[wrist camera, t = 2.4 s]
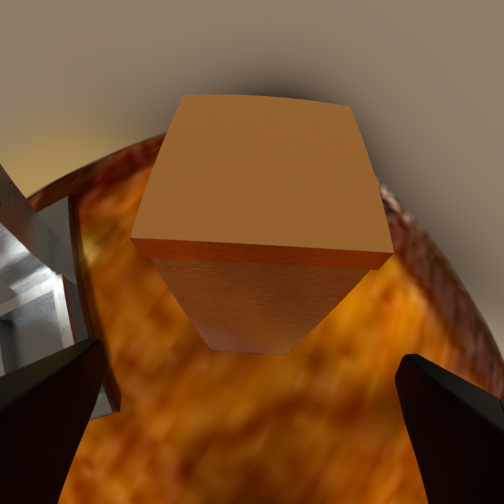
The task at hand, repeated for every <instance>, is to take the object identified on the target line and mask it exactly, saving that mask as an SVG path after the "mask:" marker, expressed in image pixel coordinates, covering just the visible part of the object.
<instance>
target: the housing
mask: <svg viewBox="0 0 504 504" xmlns="http://www.w3.org/2000/svg"><path fill="white" fill-rule="evenodd" d="M87 338H94V339H95V337H94V333H93V329H92V325H91V321H90V317H89V313H88V308H87V304H86V299H85V294H84V289H83V284H82V278H81V273H80V266H79V260H78V253H77V245H76V237H75V227H74V215H73V203H72V202H71V200H70V199H69V197H68V196H67V197H65V198H63V199H61V200H59V201H57V202H55V203H54V204H52V205H50V206H48V207H46V208H44V209H43V210H41V211H39V212H36V210H35V209H34V208H33V207H32V205H31V204H30V203H29V202H28V200H27V199H26V198H25V197H24V195H23V194H22V193H21V192H20V190H19V189H18V188H17V186H16V185H15V184H14V182H13V181H12V180H11V178H10V177H9V176H8V174H7V173H6V171H5V170H4V168H3V167H2V165H1V164H0V376H3V375H5V374H7V373H10V372H12V371H14V370H17V369H19V368H21V367H24V366H26V365H28V364H30V363H33V362H35V361H37V360H40V359H42V358H44V357H46V356H49V355H51V354H53V353H56V352H58V351H60V350H62V349H65V348H67V347H69V346H71V345H74V344H76V343H78V342H80V341H83V340H85V339H87ZM117 412H120V411H119V409H118V406H117V404H116V401H115V398H114V396H113V393H112V390H111V388H110V385H109V382H108V379H107V376H106V374H105V377H104V380H103V383H102V386H101V389H100V392H99V395H98V398H97V402H96V404H95V407H94V410H93V412H92V415H91V417H90V419H89V420H93V419H97V418H100V417H104V416H107V415H110V414H114V413H117Z"/></svg>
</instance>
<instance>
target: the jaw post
mask: <svg viewBox="0 0 504 504" xmlns="http://www.w3.org/2000/svg"><path fill="white" fill-rule="evenodd" d="M130 238H131V240H132V241H133V243H134V245H135V246H136V248H137V249H138V251H139V253H140V254H141V256H142V257H150V258H151V260H152V262H153V263H154V265H155V267H156V268H157V270H158V272H159V273H160V275H161V276H162V278H163V280H164V281H165V283H166V284H167V286H168V288H169V289H170V291H171V292H172V294H173V295H174V297H175V298H176V300H177V301H178V303H179V304H180V306H181V307H182V309H183V310H184V312H185V313H186V315H187V316H188V318H189V319H190V321H191V322H192V324H193V325H194V327H195V328H196V329H197V331H198V332H199V334H200V335H201V337H202V338H203V339H204V341H205V342H206V344H207V345H208V346H209V348H210V349H211V350H212V351H223V352H237V353H255V354H285V355H286V354H287V353H288V352H289V351H290V350H291V349H292V348H293V347H294V346H295V345H297V344H298V343H299V342H300V341H301V340H302V339H303V338H304V337H305V336H306V335H307V334H308V333H309V332H310V331H311V330H312V329H314V328H315V327H316V326H317V325H318V324H319V323H320V322H321V321H322V320H323V319H324V318H325V317H326V316H327V315H328V314H329V313H330V312H331V311H332V310H333V309H334V308H335V307H336V306H337V305H338V304H339V303H340V302H341V301H342V300H343V299H344V298H345V296H346V295H347V294H348V293H349V292H350V291H351V290H352V289H353V288H354V287H355V286H356V285H357V284H358V283H359V282H360V281H361V279H362V278H363V277H364V276H365V275H366V274H367V273H368V272H369V271H370V270H379V269H380V268H381V267H382V266H383V264H384V263H385V262H386V261H387V260H388V259H389V258H390V257H391V256H392V255H393V254H394V250H393V245H392V241H391V236H390V232H389V227H388V223H387V219H386V215H385V211H384V207H383V203H382V199H381V196H380V192H379V189H378V185H377V182H376V178H375V175H374V172H373V169H372V165H371V163H370V159H369V156H368V153H367V150H366V147H365V144H364V142H363V139H362V136H361V133H360V131H359V128H358V125H357V123H356V120H355V118H354V115H353V112H352V110H351V107H348V106H342V105H336V104H330V103H323V102H317V101H309V100H301V99H291V98H281V97H269V96H252V95H184V96H183V98H182V101H181V103H180V105H179V107H178V109H177V111H176V114H175V116H174V118H173V120H172V123H171V125H170V127H169V129H168V132H167V134H166V137H165V139H164V141H163V144H162V146H161V149H160V151H159V154H158V156H157V159H156V162H155V164H154V167H153V170H152V172H151V175H150V178H149V180H148V183H147V186H146V189H145V192H144V195H143V198H142V201H141V204H140V207H139V210H138V213H137V216H136V220H135V223H134V226H133V230H132V233H131V236H130Z"/></svg>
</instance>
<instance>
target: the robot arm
mask: <svg viewBox="0 0 504 504" xmlns="http://www.w3.org/2000/svg"><path fill="white" fill-rule="evenodd" d="M107 367H108V361H107V357H106V354H105V350H104V346H103V343H102V341H101V340H99V339H94V338H87V339H85V340H83V341H80V342H78V343H76V344H74V345H71V346H69V347H67V348H65V349H62V350H60V351H58V352H56V353H53V354H51V355H49V356H46V357H44V358H42V359H40V360H37V361H35V362H33V363H30V364H28V365H26V366H24V367H21V368H19V369H17V370H14V371H12V372H10V373H7V374H5V375H3V376H0V504H58V500H59V497H60V494H61V491H62V488H63V486H64V483H65V480H66V477H67V474H68V472H69V469H70V466H71V464H72V461H73V458H74V456H75V453H76V451H77V448H78V446H79V443H80V441H81V438H82V436H83V433H84V431H85V429H86V426H87V424H88V422H89V419H90V417H91V415H92V412H93V410H94V407H95V404H96V402H97V398H98V395H99V392H100V389H101V386H102V383H103V380H104V377H105V374H106V371H107ZM395 384H396V388H397V392H398V396H399V401H400V405H401V409H402V414H403V418H404V421H405V425H406V428H407V431H408V434H409V437H410V440H411V443H412V446H413V449H414V453H415V456H416V459H417V463H418V466H419V469H420V473H421V477H422V480H423V484H424V488H425V491H426V495H427V499H428V504H504V401H503V400H502V399H499V398H498V397H496V396H494V395H492V394H490V393H488V392H486V391H485V390H483V389H481V388H479V387H477V386H475V385H473V384H471V383H470V382H468V381H466V380H464V379H462V378H460V377H459V376H457V375H455V374H453V373H451V372H449V371H447V370H446V369H444V368H442V367H440V366H438V365H436V364H435V363H433V362H431V361H429V360H427V359H425V358H424V357H422V356H420V355H418V354H406V355H404V356H403V358H402V360H401V362H400V365H399V367H398V370H397V372H396V375H395Z"/></svg>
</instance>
